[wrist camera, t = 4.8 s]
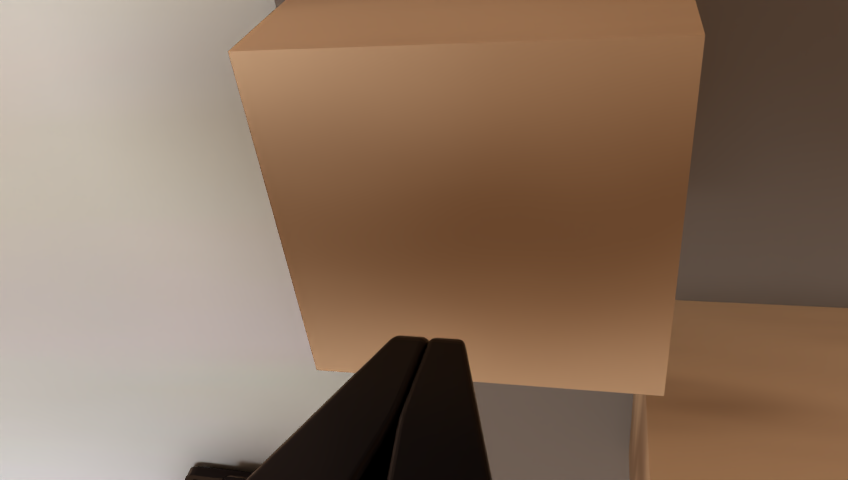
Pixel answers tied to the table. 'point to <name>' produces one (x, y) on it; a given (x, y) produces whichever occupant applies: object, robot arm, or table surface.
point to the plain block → (481, 178)
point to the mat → (721, 217)
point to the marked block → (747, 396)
